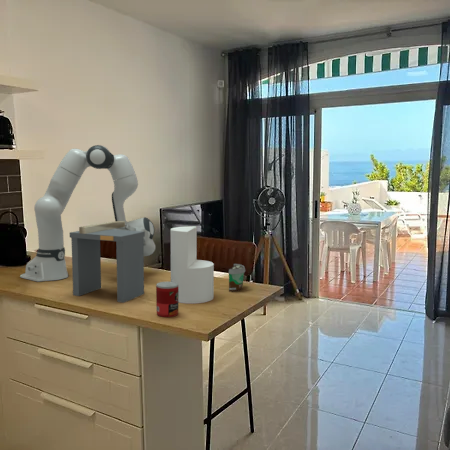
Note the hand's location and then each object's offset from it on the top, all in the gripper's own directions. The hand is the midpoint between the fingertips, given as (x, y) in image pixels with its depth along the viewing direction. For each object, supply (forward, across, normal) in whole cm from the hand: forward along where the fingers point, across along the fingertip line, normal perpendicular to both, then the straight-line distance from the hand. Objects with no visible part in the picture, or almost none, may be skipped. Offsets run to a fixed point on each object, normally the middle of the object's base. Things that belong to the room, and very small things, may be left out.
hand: (117, 225), depth 198 cm
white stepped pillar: (-10, +39, +25) cm, 48 cm away
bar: (+8, 0, +6) cm, 10 cm away
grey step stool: (-1, +6, +30) cm, 31 cm away
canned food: (+10, +41, +37) cm, 56 cm away
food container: (-28, +51, +15) cm, 60 cm away
